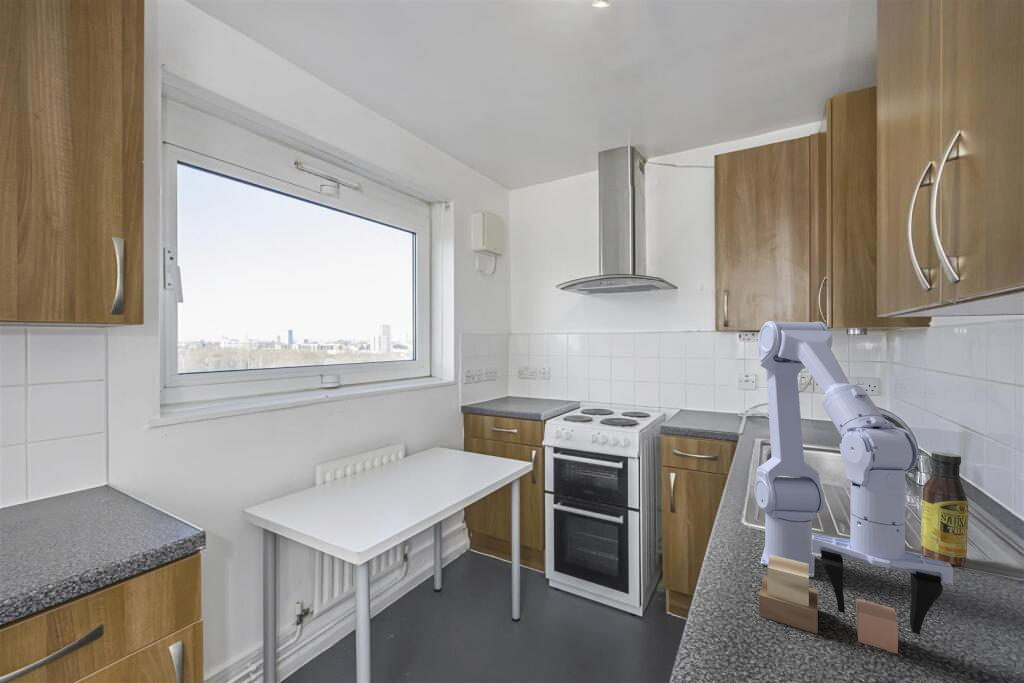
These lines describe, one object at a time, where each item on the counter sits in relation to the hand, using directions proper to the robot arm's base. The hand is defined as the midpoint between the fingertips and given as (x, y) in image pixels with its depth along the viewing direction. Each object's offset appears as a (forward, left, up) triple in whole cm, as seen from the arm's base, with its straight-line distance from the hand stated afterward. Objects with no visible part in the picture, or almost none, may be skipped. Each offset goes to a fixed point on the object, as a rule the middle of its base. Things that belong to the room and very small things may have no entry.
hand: (876, 619), depth 59 cm
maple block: (0, -10, 0) cm, 10 cm away
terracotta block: (0, 0, -3) cm, 3 cm away
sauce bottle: (-38, +13, -3) cm, 40 cm away
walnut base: (0, -10, -3) cm, 10 cm away
